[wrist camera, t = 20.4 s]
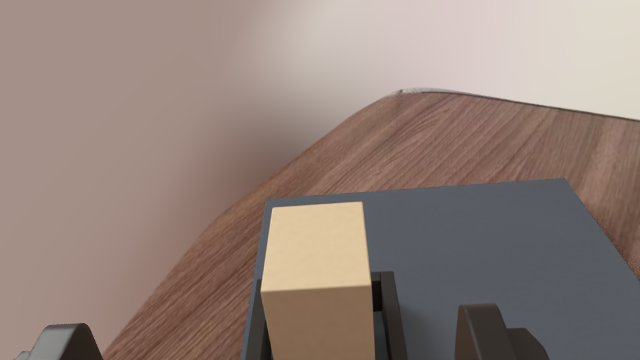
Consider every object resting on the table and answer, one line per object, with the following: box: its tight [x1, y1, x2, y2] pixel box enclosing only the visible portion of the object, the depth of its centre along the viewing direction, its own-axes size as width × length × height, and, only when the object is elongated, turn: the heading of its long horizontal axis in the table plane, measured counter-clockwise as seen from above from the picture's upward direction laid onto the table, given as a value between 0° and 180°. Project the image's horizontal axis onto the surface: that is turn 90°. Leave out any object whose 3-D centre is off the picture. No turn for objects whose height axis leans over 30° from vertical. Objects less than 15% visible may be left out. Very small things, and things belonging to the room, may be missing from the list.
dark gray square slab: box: [240, 178, 640, 360], centre depth 34 cm, size 24×23×4 cm
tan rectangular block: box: [261, 202, 375, 360], centre depth 27 cm, size 4×6×9 cm
